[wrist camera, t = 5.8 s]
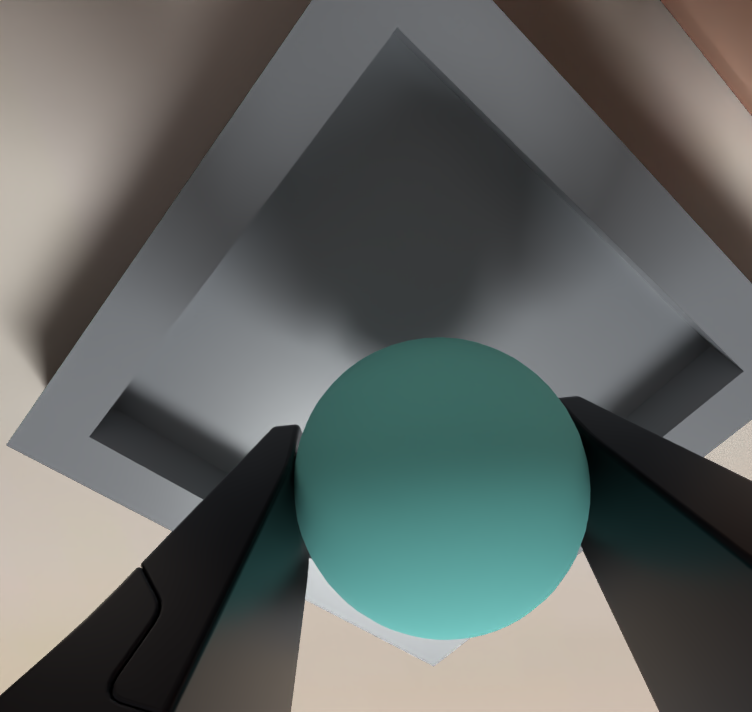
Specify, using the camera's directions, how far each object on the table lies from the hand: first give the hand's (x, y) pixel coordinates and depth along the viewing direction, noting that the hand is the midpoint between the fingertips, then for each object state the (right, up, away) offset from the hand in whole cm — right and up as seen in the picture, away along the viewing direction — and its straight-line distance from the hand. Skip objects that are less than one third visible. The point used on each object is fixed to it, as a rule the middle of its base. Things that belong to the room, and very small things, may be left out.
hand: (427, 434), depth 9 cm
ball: (0, -1, -1) cm, 1 cm away
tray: (0, +1, +2) cm, 2 cm away
